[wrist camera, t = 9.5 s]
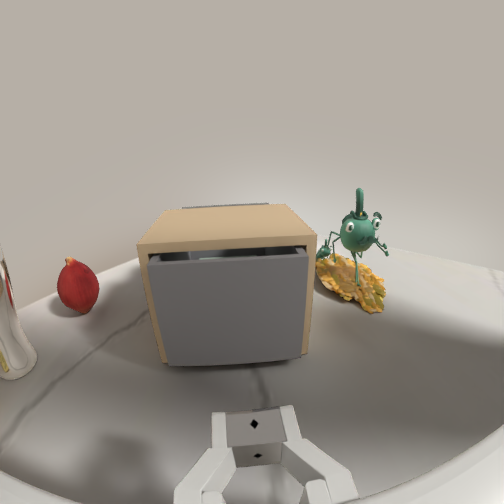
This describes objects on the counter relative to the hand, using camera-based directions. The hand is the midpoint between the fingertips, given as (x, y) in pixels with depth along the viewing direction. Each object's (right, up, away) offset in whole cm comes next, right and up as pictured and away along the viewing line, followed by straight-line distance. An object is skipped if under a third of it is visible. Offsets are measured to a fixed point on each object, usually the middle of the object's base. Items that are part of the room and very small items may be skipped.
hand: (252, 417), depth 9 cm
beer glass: (-26, -6, +12) cm, 30 cm away
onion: (-22, -2, +23) cm, 32 cm away
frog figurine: (+14, +2, +31) cm, 34 cm away
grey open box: (-2, 0, +24) cm, 24 cm away
